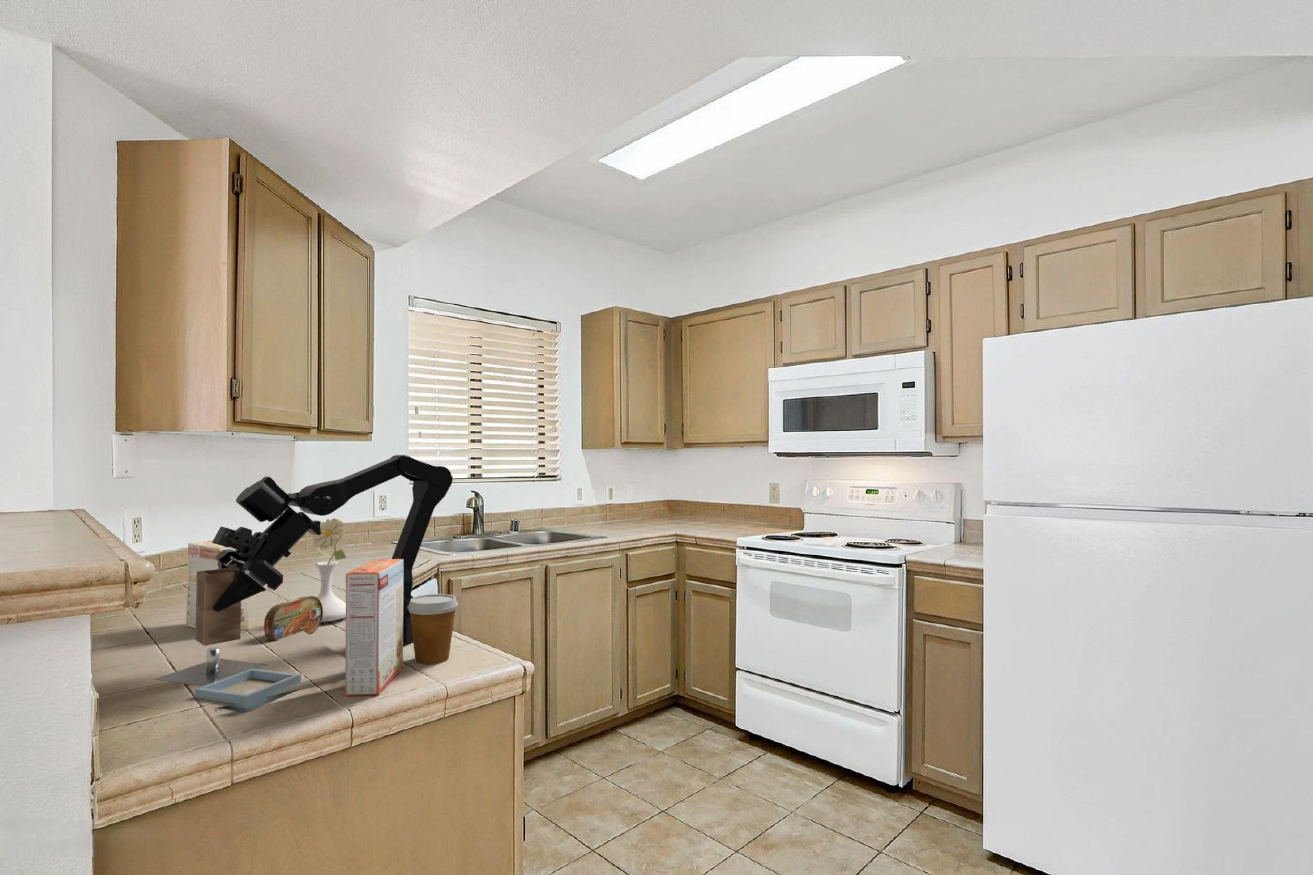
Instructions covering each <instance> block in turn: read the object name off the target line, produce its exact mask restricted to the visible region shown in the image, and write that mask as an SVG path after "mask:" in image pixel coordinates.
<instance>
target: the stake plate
mask: <svg viewBox="0 0 1313 875" xmlns="http://www.w3.org/2000/svg"><path fill="white" fill-rule="evenodd" d="M205 653H206V654H205V655H206V656H205V658H206V660H205V662H202V663H199V664H195V665H193V666H190V667H186V668H184V669H179V670H178V671H174V672H172V673H171V672H170V673H168V674H165V675H162V676H159V677H155V678H154V680H157V681H164V682H171V683H177V684H178V683H179V684H186V685H192V686H200V687H202V686H205V685H208V684H211V683H213V682H216V681H219V680H222V679H224V678H227V677H230V676H233V675H236V674H238V673H241V672H244V671H247V670H249V669H252V668H253V669H261V668H262V667H265V666H268V663H261V662H260V663H259V662H251V661H242V660H234V659H227V658H220V657H221V656H220V654H221V648H220V647H219V646H218V647H209V648H206V652H205Z"/></svg>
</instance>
